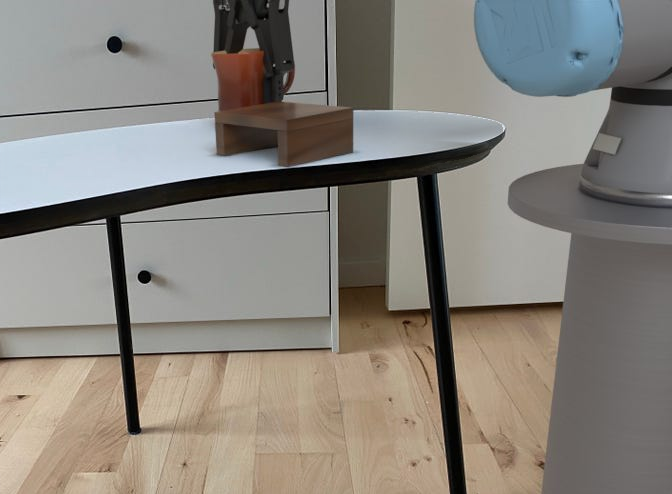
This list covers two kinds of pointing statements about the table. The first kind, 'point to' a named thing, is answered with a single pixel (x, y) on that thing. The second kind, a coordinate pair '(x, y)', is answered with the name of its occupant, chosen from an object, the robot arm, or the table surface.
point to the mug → (242, 78)
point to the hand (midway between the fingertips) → (253, 122)
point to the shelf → (286, 131)
